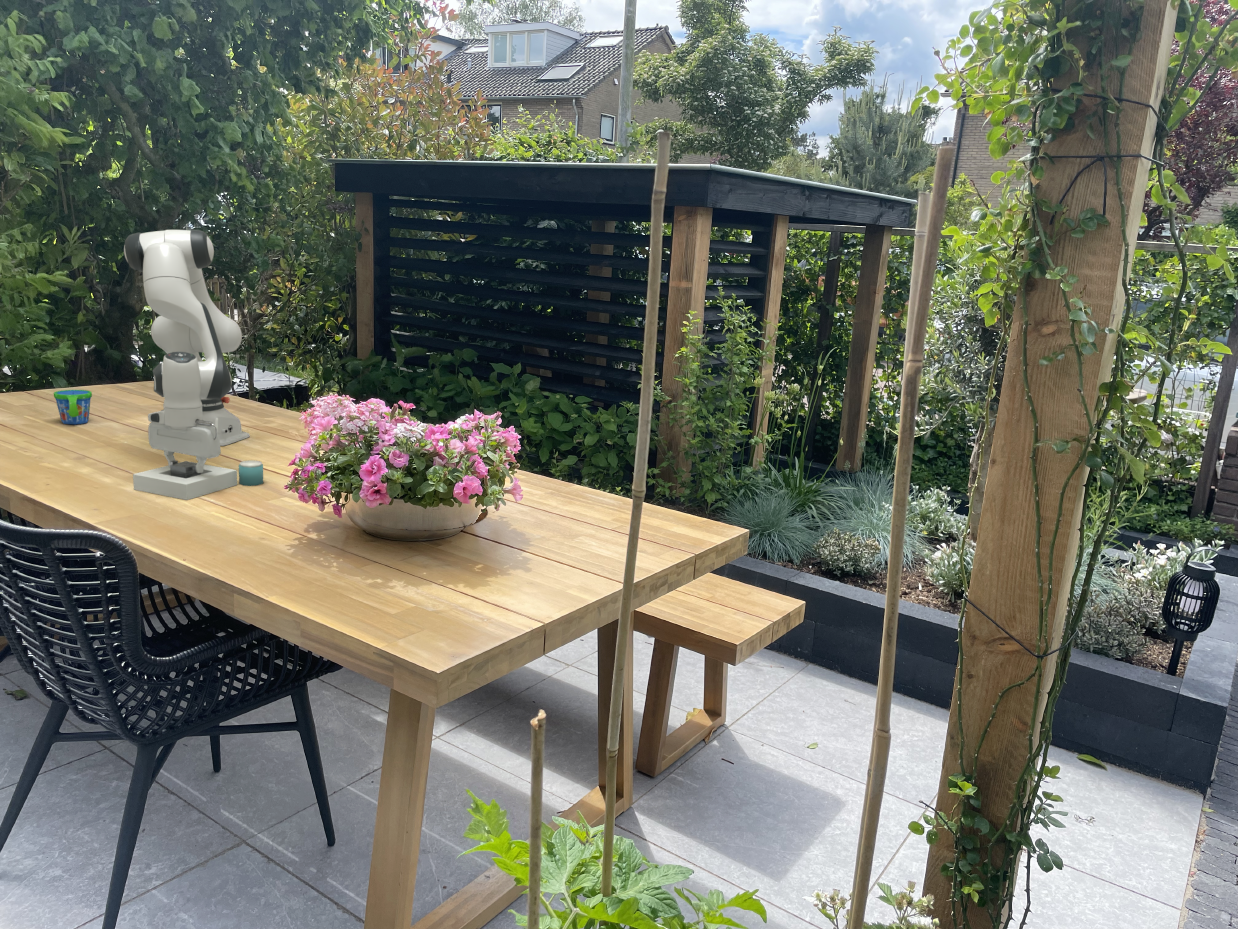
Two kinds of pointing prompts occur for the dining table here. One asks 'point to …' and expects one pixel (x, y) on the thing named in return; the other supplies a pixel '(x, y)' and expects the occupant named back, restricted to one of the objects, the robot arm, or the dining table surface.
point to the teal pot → (250, 473)
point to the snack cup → (73, 405)
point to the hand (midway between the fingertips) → (185, 469)
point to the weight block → (183, 470)
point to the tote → (185, 482)
